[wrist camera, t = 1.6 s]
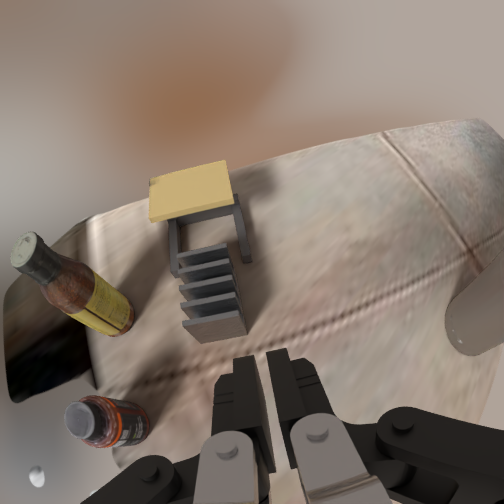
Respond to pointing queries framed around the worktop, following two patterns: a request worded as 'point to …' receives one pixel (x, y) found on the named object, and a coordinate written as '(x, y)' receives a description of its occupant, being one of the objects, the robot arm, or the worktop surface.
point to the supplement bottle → (106, 422)
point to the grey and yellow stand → (195, 204)
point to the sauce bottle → (73, 286)
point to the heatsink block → (211, 294)
